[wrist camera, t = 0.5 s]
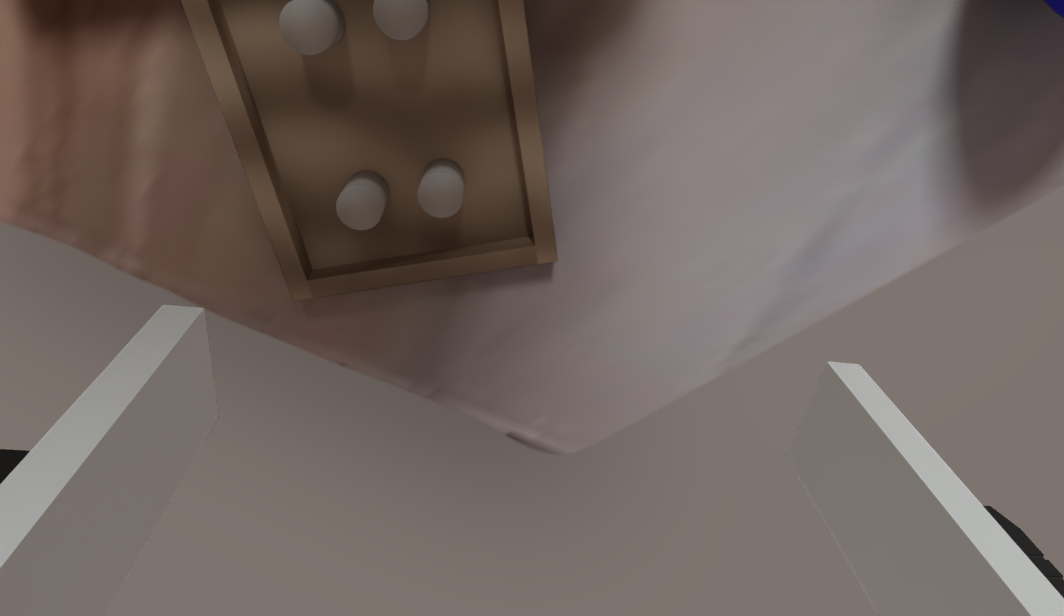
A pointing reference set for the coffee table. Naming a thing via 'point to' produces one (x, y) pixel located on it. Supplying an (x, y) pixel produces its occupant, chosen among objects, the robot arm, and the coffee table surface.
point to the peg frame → (383, 135)
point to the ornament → (1056, 6)
